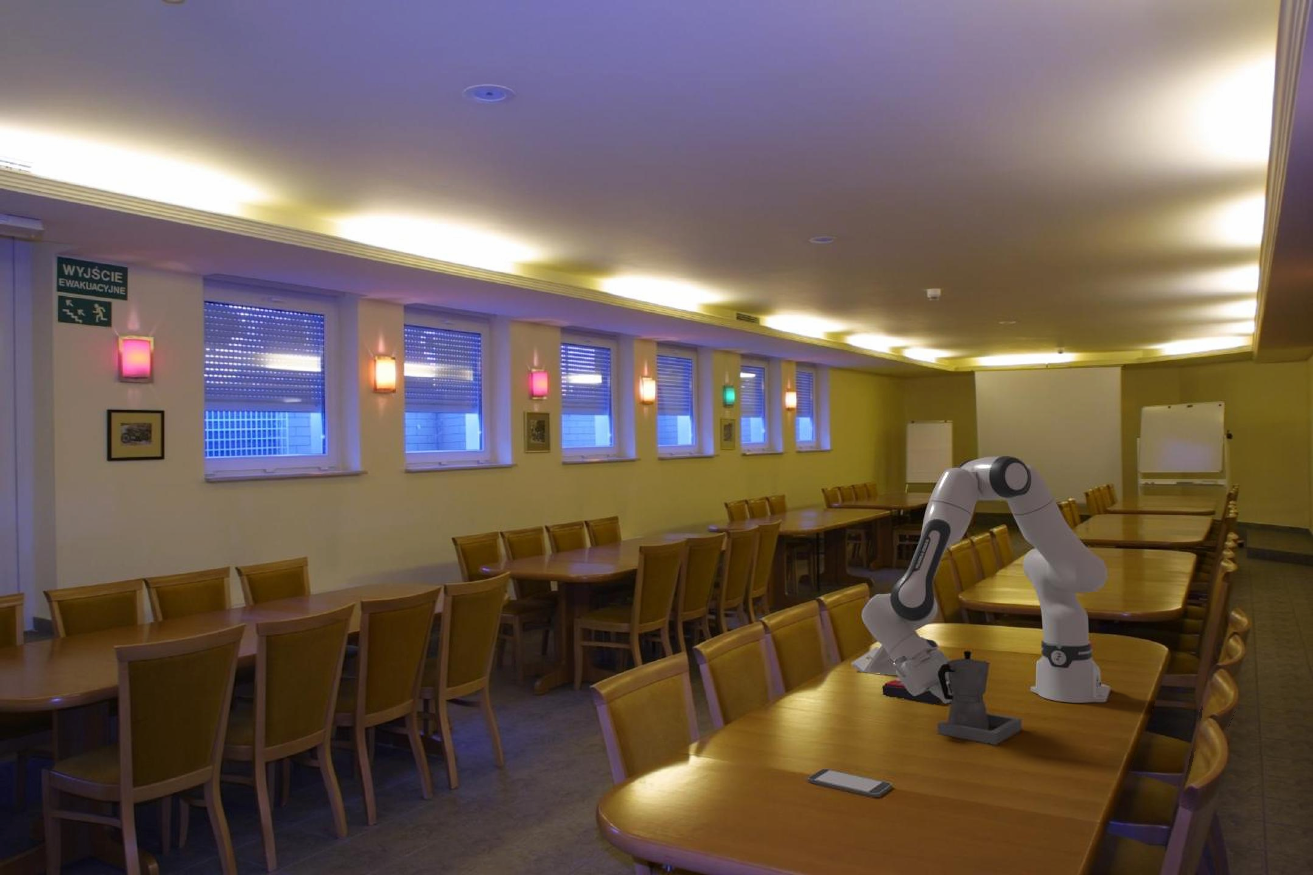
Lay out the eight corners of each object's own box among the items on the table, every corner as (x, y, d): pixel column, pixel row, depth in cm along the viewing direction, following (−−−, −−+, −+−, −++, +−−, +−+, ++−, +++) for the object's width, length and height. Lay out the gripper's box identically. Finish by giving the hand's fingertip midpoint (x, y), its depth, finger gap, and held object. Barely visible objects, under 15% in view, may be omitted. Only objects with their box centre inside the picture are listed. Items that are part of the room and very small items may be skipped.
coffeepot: (974, 718, 219) (973, 644, 219) (1004, 729, 210) (1003, 652, 210) (924, 727, 212) (924, 650, 212) (953, 738, 204) (953, 658, 204)
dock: (965, 719, 219) (965, 708, 219) (1021, 729, 210) (1021, 718, 210) (938, 733, 208) (937, 722, 208) (996, 745, 199) (995, 733, 199)
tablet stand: (932, 661, 283) (930, 606, 284) (911, 678, 262) (909, 619, 262) (875, 656, 292) (873, 603, 293) (850, 672, 271) (849, 615, 271)
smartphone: (877, 794, 169) (806, 778, 178) (877, 800, 169) (806, 783, 178) (893, 783, 175) (823, 767, 184) (893, 788, 175) (824, 773, 184)
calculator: (900, 675, 251) (952, 680, 241) (901, 690, 251) (953, 696, 241) (881, 682, 243) (933, 688, 233) (882, 699, 243) (935, 705, 232)
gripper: (899, 652, 211) (939, 702, 205) (937, 639, 227) (976, 684, 220) (882, 669, 214) (921, 718, 208) (921, 654, 229) (959, 700, 223)
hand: (950, 700), depth 214 cm, fingers closed, pressing on coffeepot
